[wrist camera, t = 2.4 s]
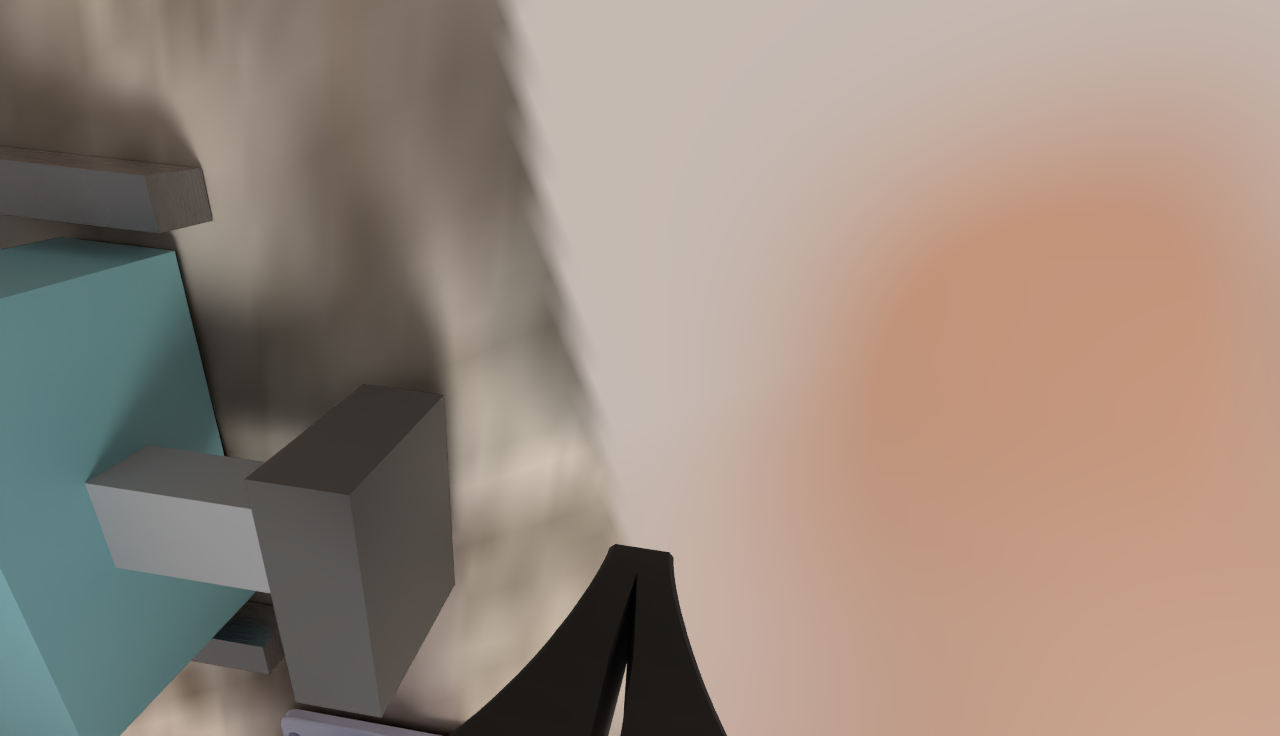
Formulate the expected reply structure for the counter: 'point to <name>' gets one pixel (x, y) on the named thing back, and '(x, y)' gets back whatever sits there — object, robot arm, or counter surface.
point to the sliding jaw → (190, 507)
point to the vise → (146, 205)
